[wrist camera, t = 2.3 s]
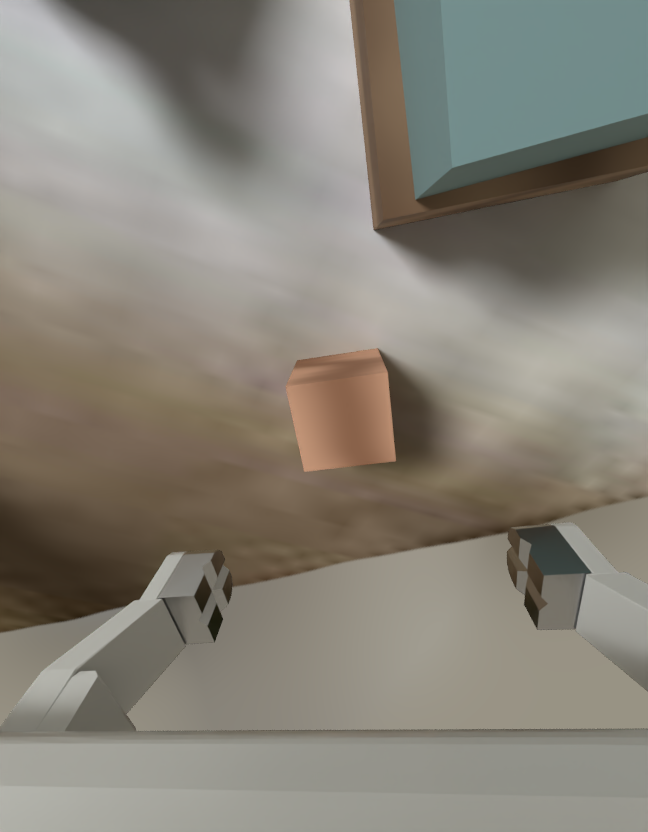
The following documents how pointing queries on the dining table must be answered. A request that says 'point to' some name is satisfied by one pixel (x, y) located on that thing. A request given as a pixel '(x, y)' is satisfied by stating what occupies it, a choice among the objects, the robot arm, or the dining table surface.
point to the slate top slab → (518, 84)
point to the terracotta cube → (342, 410)
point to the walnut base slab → (393, 151)
